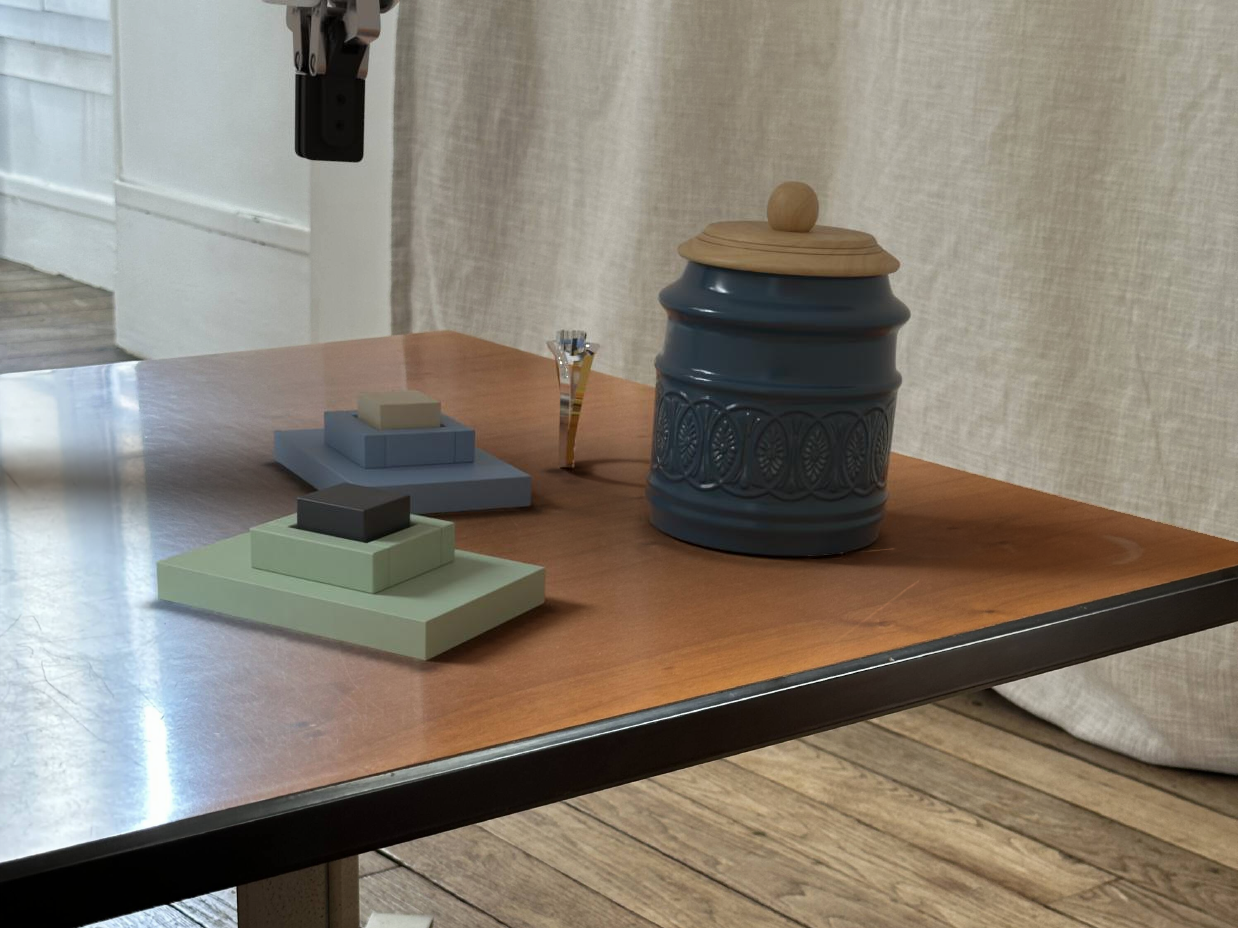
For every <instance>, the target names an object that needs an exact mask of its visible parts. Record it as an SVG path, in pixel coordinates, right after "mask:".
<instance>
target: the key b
mask: <svg viewBox="0 0 1238 928" xmlns="http://www.w3.org/2000/svg"><path fill="white" fill-rule="evenodd" d="M356 396H357V400H356V401H357V404H356V405H357V410H358V419H359V420H360V421H362V422H364V423H366V424H367V425H369V426H371V427H373V428H374V429H376V430H390V429H411V428H431V427H440V426H441V413H442V403H441V401H439V400H437V399H435V398H433V397H431V396H430V395H427V394H426V393H423V392H421V391H419V390H417V389H405V390H404V389H403V390H375V391H358V392H357V395H356Z"/></svg>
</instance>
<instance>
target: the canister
mask: <svg viewBox="0 0 1238 928" xmlns="http://www.w3.org/2000/svg"><path fill="white" fill-rule="evenodd" d="M819 202H820V201H819V198H818V196H817V194H816V192H815V190H814V189H813V188H812V187H811V186H810V185H809V184H807V183H804V182H802V181H791V180H790V181H785V182H782V183H780V184H779V185H777V186H776V187H775V188H774V189H773V191H772V192H771V194H770V196H769V198H768V200H767V205H766V219H767V220H727V221H725V220H724V221H716V222H711V223H708V224H707V225H706V227H705V228H704V229H703V231H701V232H699V233H698V234H696V235H695V236H693V237H690V238H689V239H687V240H685V241H683V242H682V243H680V244H679V245H678V246H677V248H676V249H677V254H678V256H680V258H683V259H685V260H686V262H685V264H684V267H683V269H682V271H681V274H680V275H679V277H678V278H677V279H676V280H674V281H672V282H670V283H669V284H668V285H666V286H664V287H663V288H662V289H661V290H660V291H659V292H658V294H657V301H658V303H659V304H660V306H661V307H662V308H663V310H664V311H665V313H666V326H665V327H666V328H665V334H664V336H665V337H664V342H663V346H662V350H661V351H660V352H659V353H658V354H656V356H655V357H654V359H653V367H654V368H655V373H656V374H655V388H654V403H653V405H654V406H653V419H652V433H651V434H652V435H651V448H650V461H649V462H650V463H649V464H650V465H649V468H648V469H647V471H646V474H645V481H646V483H647V484H646V486H645V492H644V494H645V499H646V502H647V505H648V520H649V521H650V523H651V524H652V525H653V526H654V527H655V528H656V529H658V530H659V531H661V532H663V533H664V534H666V535H668V536H670V537H673V538H676V539H678V540H681V541H684V542H687V543H691V544H695V545H697V546H702V547H706V548H710V549H715V550H720V551H728V552H733V553H734V552H735V553H742V554H750V555H759V556H777V557H816V556H829V555H839V554H843V553H849V552H854V551H857V550H860V549H863V548H865V547H868V546H870V545H871V544H872V543H874V542H875V541H877V539H878V538H879V535H880V530H881V526H882V523H883V521H884V519H885V518H886V515H887V512H888V509H887V508H888V507H887V503H888V500H889V496H890V495H889V489H888V475H889V467H890V459H891V450H892V443H893V434H894V427H895V419H896V410H897V402H898V395H899V390H900V388H901V386H902V384H903V376H902V373H901V372H900V371H899V370H898V369H897V344H898V343H897V342H898V334H899V331H900V330H901V329H902V328H903V327H904V326H905V325H906V324H907V323H908V322H909V321H910V319H911V318H912V317H911V316H912V312H911V310H910V308H909V307H908V305H907V304H906V303H904V302H903V301H902V300H900V299H899V297H897V296H896V295H895V294H894V293H893V289H892V285H891V281H890V277H889V275H891V274H894V273H897V272H898V271H899V269H900V268H901V262H900V260H899V259H898V258H896V257H895V256H894V255H893V254H891V253H890V252H888V251H887V250H886V249H884V247H882V246H881V245H880V244H879V243H878V241H877V239H876V237H875V236H874V235H873V234H870V233H867V232H864V231H860V230H856V229H851V228H844V227H837V226H830V225H823V224H822V225H821V224H816V223H817V221H818V217H819V213H820V204H819Z"/></svg>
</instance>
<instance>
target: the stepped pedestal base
mask: <svg viewBox="0 0 1238 928" xmlns="http://www.w3.org/2000/svg"><path fill="white" fill-rule="evenodd" d="M155 564H156V567H155V568H156V585H157V599H158V600H161V601H167V602H171V603H175V604H179V605H183V606H188V607H191V608H196V609H201V610H205V611H209V612H212V613H213V612H214V613H218V614H221V615H228V616H230V617H235V618H239V619H244V620H249V621H251V622H252V621H253V622H257V623H261V624H265V625H269V626H274V627H279V628H283V629H286V630H291V631H296V632H300V633H304V634H309V635H312V636H318V637H321V638H325V639H329V640H335V641H338V642H342V643H347V644H352V645H355V646H360V647H364V648H369V649H373V650H376V651H381V652H386V653H390V654H394V655H400V656H404V657H406V658H407V657H408V658H411V659H417V660H420V661H425V662H426V661H429V660H431V659H433V658H435V657H437V656H439V655H441V654H443V653H445V652H447V651H449V650H451V649H453V648H455V647H457V646H460V645H461V644H463V643H465V642H468V641H469V640H472V639H474V638H476V637H478V636H479V635H482V634H484V633H485V632H488V631H489V630H492V629H494V628H496V627H498V626H500V625H502V624H504V623H506V622H508V621H510V620H513V619H515V618H516V617H519V616H520V615H522V614H524V613H527V612H528V611H531V610H533V609H535V608H537V607H538V606H541V605H543V604H545V599H546V598H545V595H546V575H547V574H546V572H547V571H546V570H547V568H546V566H541V565H537V564H536V565H535V564H531V563H526V562H523V561H518V560H517V561H516V560H511V559H506V558H502V557H501V558H500V557H497V556H492V555H487V554H481V553H477V552H472V551H467V550H461V549H457V548H456V523H455V522H454V521H448V520H443V519H439V518H433V517H429V516H428V517H427V516H423V515H413V514H410V528H407V529H404V530H401V531H399V532H396V533H393V534H391V535H388V536H385V537H383V538H380V539H377V540H374V541H372V542H369V543H363V542H358V541H353V540H348V539H343V538H338V537H333V536H328V535H323V534H319V533H314V532H309V531H304V530H299V529H297V512H295V513H292V514H290V515H285V516H283V517H280V518H277V519H273V520H271V521H267V522H265V523H261V524H258V525H255V526H252V527H249V531H247V532H244V533H240V534H238V535H235V536H232V537H227V538H225V539H222V540H218V541H216V542H213V543H210V544H208V545H204V546H201V547H197V548H195V549H192V550H189V551H186V552H182V553H180V554H177V555H173V556H170V557H168V558H167V557H166V558H165V559H164V558H163V559H162V560H159V561H156V562H155Z"/></svg>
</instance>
